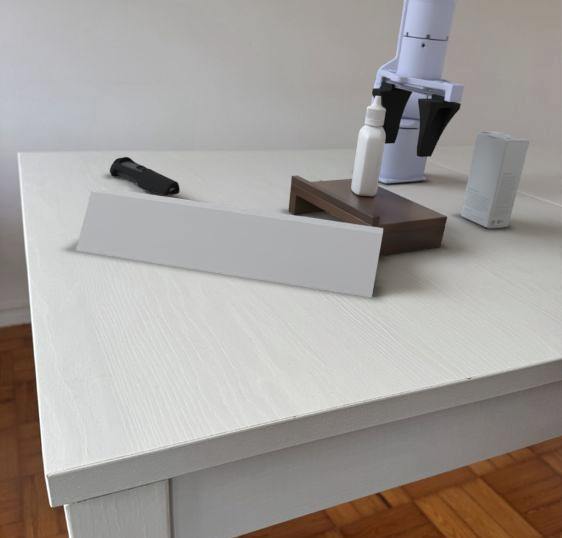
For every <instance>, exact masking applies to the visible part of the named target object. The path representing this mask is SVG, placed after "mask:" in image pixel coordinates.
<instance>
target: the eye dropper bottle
mask: <svg viewBox="0 0 562 538" xmlns="http://www.w3.org/2000/svg"><path fill="white" fill-rule="evenodd" d="M385 112H386V109H385V108H384V107H382V105H381V96H375V99H374V102H373V104H372V105H371V104H370V105H369V106H366V110H365V117H364V125H363V126H362V127H361V128H360V129H359V132H358V136H357V144H356V151H355V156H354V157H355V158H354V162H353V172H352V177H351V179H352V185H351V189H352V191H353V192H354V193H355V194H357V195H359V196H370V197H372V196H375V195H376V193H377V188H378V186H379V183H380V181H379V176H380V170H381V164H382V158H383V152H384V146H385V139H386V135H385V131H384V129H383V127H382V126H383V125H384V118H385Z"/></svg>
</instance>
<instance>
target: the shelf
mask: <svg viewBox="0 0 562 538" xmlns="http://www.w3.org/2000/svg"><path fill="white" fill-rule="evenodd" d="M290 179H291V180H290V188H289V189H290V190H289V191H290V192H289V200H288V210H287V211H288V212H289V213H290V214H291V215H295V216H300V215H306V214H317V213H328V214H330V215H332V216H334V217H336V218H337V219H339V220H341V221H343V222H344V223H351V224H357V225H364V226H371V227H378V228H383V235H382V241H381V247H380V252H379V257H383V256H389V255H397V254H402V253H410V252H417V251H422V250H429V249H430V250H431V249H435V248H441V246H442V243H443V239H444V234H445V229H446V225H447V221H448V216H447V215H445V214H442V213H440V212H438V211H436V210H433V209H431V208H430V207H427V206H425V205H422V204H420V203H418V202H415V201H413V200H412V199H409V198H407V197H405V196H403V195H402V196H401V195H400V194H398V193H396V192H393V191H391V190H389V189H386V188H384V187H382V186H379V185H378V188H377V193H376V195H375V196H372V197H370V196H359V195H357V194H355V193H354V192H353V191H352V189H351V185H352V178H343V179H331V180H330V179H329V180H318V181H316V180H315V181H310V180H308V179H306V178H304V177H302V176H300V175H291V178H290Z"/></svg>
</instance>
